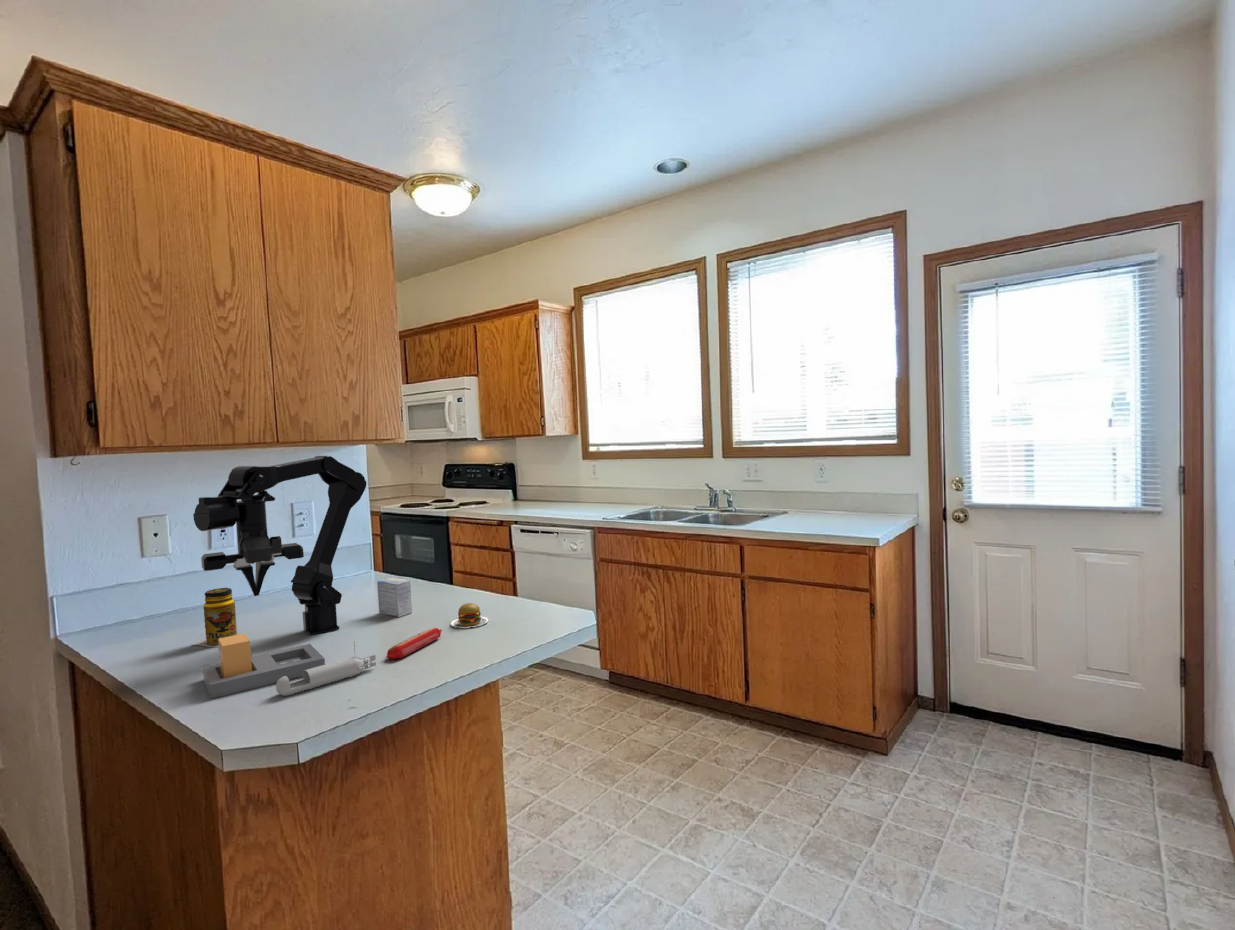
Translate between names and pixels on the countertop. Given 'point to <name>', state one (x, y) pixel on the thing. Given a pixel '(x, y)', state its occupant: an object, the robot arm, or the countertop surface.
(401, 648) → the red sausage
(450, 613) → the countertop surface
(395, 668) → the countertop surface
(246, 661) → the plug
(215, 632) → the condiment
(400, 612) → the medicine box
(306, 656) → the socket plate
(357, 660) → the torpedo
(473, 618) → the hamburger
